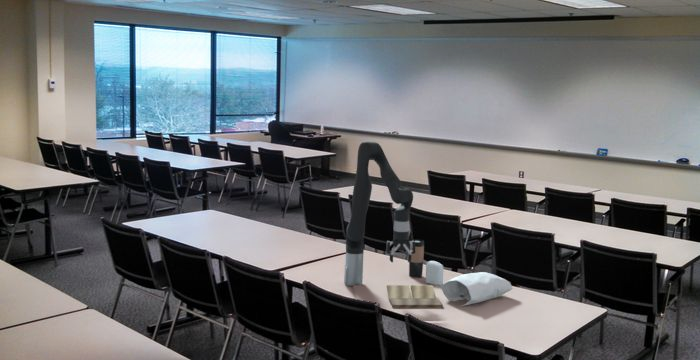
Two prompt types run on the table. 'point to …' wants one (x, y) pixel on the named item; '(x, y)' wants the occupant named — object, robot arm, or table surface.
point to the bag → (475, 287)
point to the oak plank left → (398, 291)
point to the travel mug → (416, 259)
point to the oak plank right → (423, 291)
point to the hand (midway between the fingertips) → (400, 261)
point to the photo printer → (434, 273)
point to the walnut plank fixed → (415, 303)
